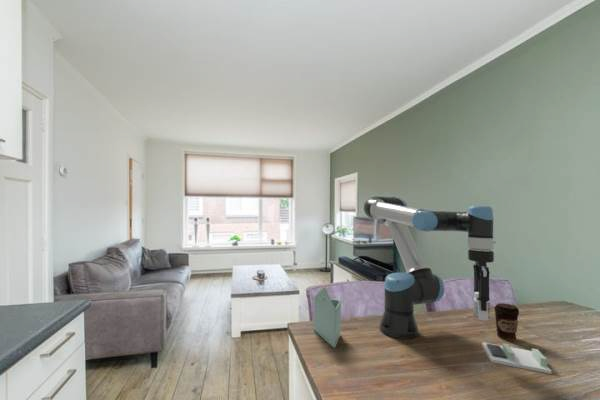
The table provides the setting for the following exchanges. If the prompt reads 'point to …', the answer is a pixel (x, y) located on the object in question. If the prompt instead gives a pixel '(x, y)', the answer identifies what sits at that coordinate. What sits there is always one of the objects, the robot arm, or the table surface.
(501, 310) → the coffee cup
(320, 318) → the green magazine holder
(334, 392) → the table surface
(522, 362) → the dock
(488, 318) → the pill bottle
